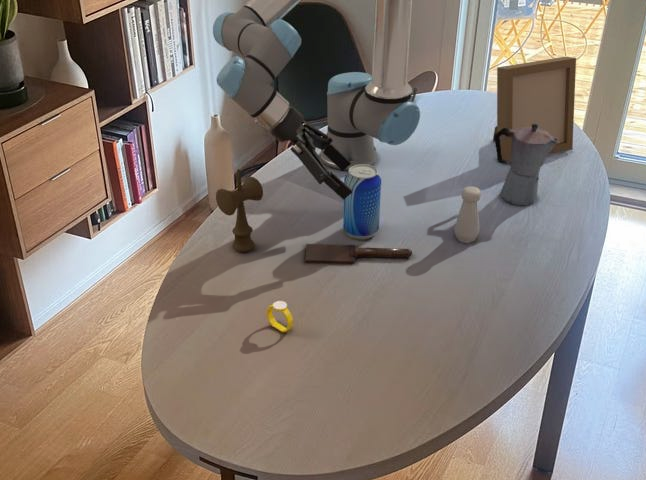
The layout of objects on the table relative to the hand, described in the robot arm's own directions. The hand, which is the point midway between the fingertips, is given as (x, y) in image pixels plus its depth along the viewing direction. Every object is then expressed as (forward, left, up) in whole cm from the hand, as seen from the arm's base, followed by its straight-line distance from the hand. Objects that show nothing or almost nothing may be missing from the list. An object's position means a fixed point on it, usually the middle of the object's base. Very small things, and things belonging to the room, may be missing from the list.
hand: (347, 180), depth 186 cm
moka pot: (-43, +19, -14) cm, 49 cm away
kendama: (+22, -11, -14) cm, 28 cm away
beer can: (-2, +2, -14) cm, 14 cm away
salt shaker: (-18, +22, -14) cm, 31 cm away
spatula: (+5, +10, -13) cm, 17 cm away
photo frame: (-68, +4, -14) cm, 69 cm away
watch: (+36, +17, -14) cm, 42 cm away
